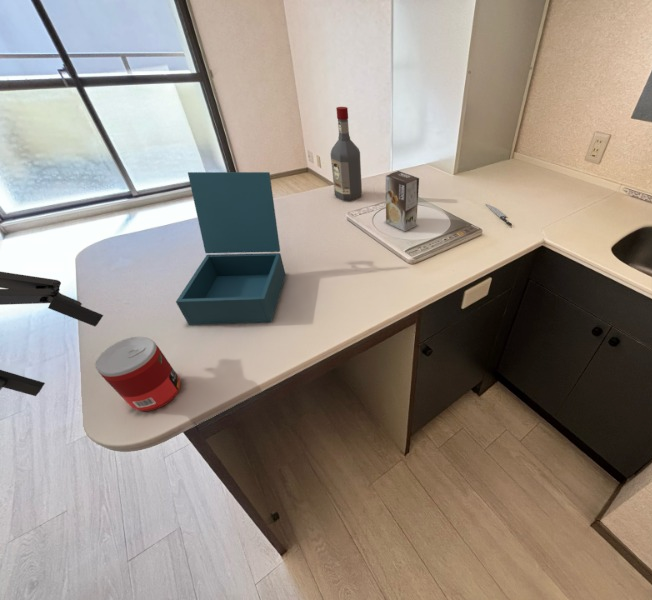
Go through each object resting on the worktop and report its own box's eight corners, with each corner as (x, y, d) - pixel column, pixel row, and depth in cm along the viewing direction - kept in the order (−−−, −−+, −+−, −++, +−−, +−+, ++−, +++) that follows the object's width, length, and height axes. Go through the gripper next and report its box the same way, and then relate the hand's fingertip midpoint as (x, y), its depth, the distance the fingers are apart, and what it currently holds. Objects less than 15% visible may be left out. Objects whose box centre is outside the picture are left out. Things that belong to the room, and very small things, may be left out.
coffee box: (417, 225, 109) (420, 178, 99) (404, 232, 106) (407, 183, 95) (397, 216, 114) (398, 170, 103) (384, 222, 110) (384, 175, 100)
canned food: (191, 387, 60) (164, 347, 53) (145, 421, 55) (109, 382, 47) (167, 368, 63) (139, 329, 56) (122, 399, 58) (85, 359, 50)
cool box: (271, 322, 73) (264, 298, 69) (188, 325, 72) (175, 301, 67) (285, 275, 86) (280, 253, 82) (216, 276, 85) (206, 254, 80)
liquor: (350, 189, 131) (344, 103, 111) (365, 196, 126) (361, 108, 106) (331, 195, 126) (322, 107, 106) (347, 203, 121) (339, 112, 101)
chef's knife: (491, 203, 125) (484, 203, 124) (492, 200, 124) (485, 201, 123) (516, 226, 111) (509, 227, 110) (518, 223, 110) (510, 224, 109)
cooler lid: (268, 172, 75) (274, 172, 79) (187, 172, 73) (197, 172, 77) (279, 251, 81) (283, 248, 86) (205, 253, 80) (213, 249, 84)
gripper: (-49, 243, 50) (110, 310, 61) (-293, 378, 31) (0, 439, 42) (-40, 210, 47) (125, 287, 58) (-304, 338, 28) (14, 416, 39)
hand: (73, 352), depth 50 cm, fingers open, 13 cm apart
